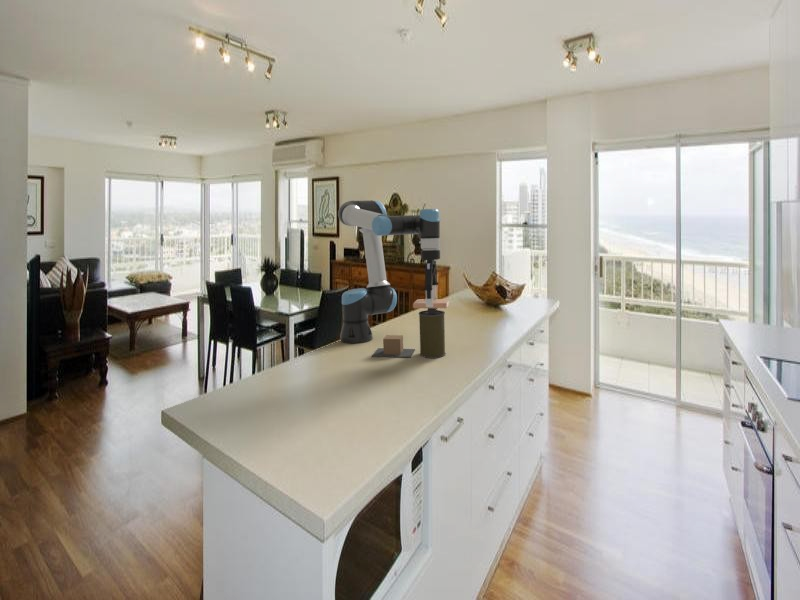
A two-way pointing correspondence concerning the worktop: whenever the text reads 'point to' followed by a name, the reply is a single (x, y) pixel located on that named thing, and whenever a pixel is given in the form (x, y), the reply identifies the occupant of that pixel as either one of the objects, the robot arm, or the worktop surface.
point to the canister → (432, 333)
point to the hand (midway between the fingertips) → (431, 303)
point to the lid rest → (393, 348)
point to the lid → (436, 303)
